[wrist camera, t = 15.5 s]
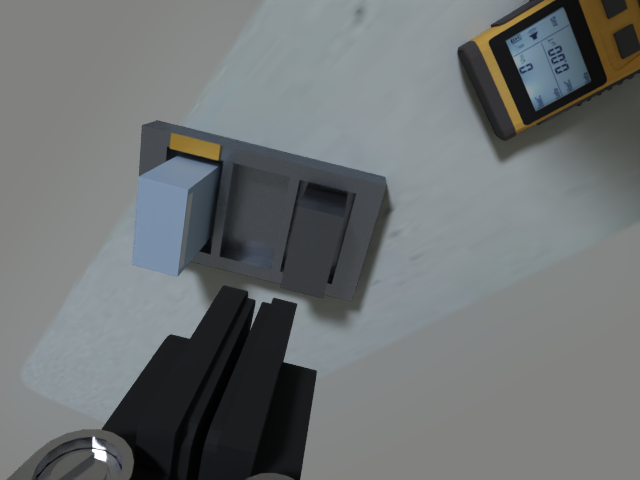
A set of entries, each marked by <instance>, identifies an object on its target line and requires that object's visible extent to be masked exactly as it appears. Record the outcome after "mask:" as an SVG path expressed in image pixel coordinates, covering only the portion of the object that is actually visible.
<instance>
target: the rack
mask: <svg viewBox="0 0 640 480" xmlns="http://www.w3.org/2000/svg"><path fill="white" fill-rule="evenodd" d="M182 153H187V154H190V155H194V156H198V157H202V158H206V159H209V160H213V161H217V162H221V163H223V167H222V173H221V180H220V186H219V193H218V199H217V206H216V212H215V219H214V226H213V232H212V237H211V238H210V239H209V240H208V241H207V243H206V244H205V245H204V246H203V247H202V248H201V250H200V251H199V252H198V253H197V254H196V256H195V257H194V258H193V259H192V260H191V261H190V262H194V263H198V264H202V265H206V266H210V267H214V268H218V269H222V270H226V271H230V272H234V273H238V274H242V275H246V276H250V277H254V278H259V279H263V280H267V281H271V282H275V283H279V284H281V286H280V288H284V289H288V290H292V291H296V292H300V293H304V294H308V295H312V296H316V297H320V298H323V296H324V295H327V296H331V297H335V298H339V299H343V300H347V301H351V302H352V300H353V296H354V293H355V290H356V286H357V283H358V280H359V276H360V273H361V270H362V266H363V263H364V260H365V256H366V253H367V250H368V246H369V243H370V240H371V236H372V233H373V230H374V226H375V223H376V220H377V216H378V213H379V210H380V206H381V203H382V200H383V196H384V193H385V190H386V179H385V177H383V176H379V175H375V174H371V173H367V172H363V171H359V170H355V169H351V168H347V167H343V166H339V165H335V164H331V163H327V162H323V161H319V160H315V159H311V158H307V157H303V156H299V155H295V154H291V153H287V152H282V151H278V150H274V149H270V148H266V147H262V146H258V145H254V144H250V143H246V142H242V141H238V140H234V139H230V138H226V137H222V136H218V135H214V134H210V133H206V132H202V131H198V130H194V129H190V128H186V127H182V126H178V125H173V124H170V123H166V122H161V121H158V120H157V121H154V122H151V123H148V124H144V125H142V134H141V150H140V167H139V176H141V175H143V174H145V173H146V172H148V171H150V170H152V169H154V168H156V167H157V166H159V165H161V164H163V163H165V162H167V161H169V160H170V159H172V158H174V157H176V156H178V155H180V154H182Z"/></svg>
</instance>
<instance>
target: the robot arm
mask: <svg viewBox="0 0 640 480" xmlns="http://www.w3.org/2000/svg"><path fill="white" fill-rule="evenodd" d="M296 307H297V304H296V303H292V302H288V301H284V300H280V299H276V298H273V300H272V303H271V304H269V303H265V302H262V304H261V306H260V309H259V311H258V314H257V316H256V318H255V321H254V323H253V325H252V328H251V323H252V318H253V313H254V308H255V300H253V299H249V298H248V291H244V290H240V289H236V288H232V287H228V286H223V287H222V288H221V290H220V291H219V293H218V295H217V296H216V298H215V299H214V301H213V303H212V304H211V306H210V307H209V309H208V311H207V312H206V314H205V316H204V317H203V319H202V320H201V322H200V324H199V325H198V327H197V328H196V330H195V332H194V333H193V335H192V337H191V338H190V339H188V338H184V337H180V336H176V335H172V334H171V335H169V336H168V337H167V338H166V339H165V340H164V342H163V343H162V344H161V346H160V347H159V349H158V350H157V352H156V353H155V354H154V356H153V357H152V359H151V360H150V361H149V363H148V364H147V366H146V367H145V369H144V370H143V371H142V373H141V374H140V376H139V377H138V378H137V380H136V381H135V383H134V384H133V386H132V387H131V388H130V390H129V391H128V393H127V394H126V395H125V397H124V398H123V400H122V401H121V403H120V404H119V405H118V407H117V408H116V410H115V411H114V412H113V414H112V415H111V417H110V418H109V420H108V421H107V422H106V424H105V425H104V427H103V428H102V429H101V430H100V429H83V430H79V431H74V432H70V433H66V434H64V435H62V436H60V437H58V438H56V439H53V440H51V441H49V442H48V443H47V444H45V445H44V446H43V447H42V448H40V449H39V450H38V451H36V452H35V453H34V454H33V455H32V456H31V457H30V458H29V459H28V460H27V461H26V462H24V463H23V465H21V466H20V467H19V468H18V469H17V470H16V471H15V472H14V473H13V474H12V475H11V476H10V477H9V478H8V479H7V480H300V477H301V470H302V464H303V457H304V451H305V445H306V438H307V432H308V425H309V419H310V412H311V406H312V400H313V393H314V387H315V381H316V374H317V371H316V370H312V369H308V368H304V367H300V366H296V365H292V364H288V363H284V362H283V361H284V357H285V353H286V348H287V344H288V340H289V336H290V332H291V328H292V324H293V319H294V315H295V311H296ZM250 328H251V330H250Z"/></svg>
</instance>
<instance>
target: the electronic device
mask: <svg viewBox="0 0 640 480" xmlns="http://www.w3.org/2000/svg"><path fill="white" fill-rule="evenodd" d="M491 27H492V28H490V29H488V30H487V31H485V32H483V33H482V34H480V35H478V36H477V37H475V38H473V39H472V40H470V41H469V42H467V43H465V44H464V45H462V46H460V47H459V48H458V54H459V56H460V58H461V60H462V63H463V65H464V67H465V69H466V71H467V73H468V76H469V78H470V80H471V82H472V84H473V86H474V89H475V91H476V93H477V95H478V97H479V99H480V102H481V104H482V106H483V108H484V110H485V112H486V115H487V117H488V119H489V121H490V123H491V125H492V128H493V130H494V132H495V134H496V135H497V136H498V137H499V138H500V139H502V140H508V139H510V138H512V137H514V136H515V135H516V134H518V133H520V132H522V131H523V130H525V129H527V128H529V127H531V126H533V125H535V124H537V125H540V124H542V123H544V122H546V121H548V120H550V119H552V118H553V117H555V116H557V115H559V114H561V113H563V112H565V111H567V110H569V109H571V108H573V107H574V106H580V105H581V103H582V102H584V101H586V100H587V101H589V100H591V98H592V97H593V96H595V95H601V93H602V92H603V91H605V90H610V89H612V87H613V86H614V85H616V84H618V85H620V84H622V82H623V81H624V80H626V79H631V78H633V76H634V75H635V74H637V73H640V0H530V1H529V2H528V3H526V4H525V5H523V6H521V7H520V8H518V9H516V10H515V11H513V12H511V13H510V14H508V15H507V16H505V17H503V18H502V19H500V20H498V21H497V22H495V23H493V24H492V25H491Z"/></svg>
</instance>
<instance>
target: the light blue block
mask: <svg viewBox="0 0 640 480" xmlns="http://www.w3.org/2000/svg"><path fill="white" fill-rule="evenodd" d="M222 167H223V163H221V162H217V161H213V160H209V159H206V158H202V157H198V156H194V155H190V154H187V153H182V154H180V155H178V156H176V157H174V158H172V159H170V160H169V161H167V162H165V163H163V164H161V165H159V166H157V167H156V168H154V169H152V170H150V171H148V172H146V173H145V174H143V175H141V176H139V181H138V193H137V207H136V220H135V233H134V247H133V260H132V265H134V266H138V267H142V268H146V269H149V270H153V271H157V272H161V273H165V274H169V275H172V276H176V277H178V276H179V274H180V273H181V272H182V271H183V270H184V269H185V267H186V266H187V265H188V264H189V263H190V261H191V260H192V259H193V258H194V257H195V256H196V254H197V253H198V252H199V251H200V250H201V248H202V247H203V246H204V245H205V244H206V243H207V241H208V240H209V239H210V238H211V237H212V232H213V226H214V219H215V212H216V206H217V199H218V193H219V186H220V180H221V173H222Z"/></svg>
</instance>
